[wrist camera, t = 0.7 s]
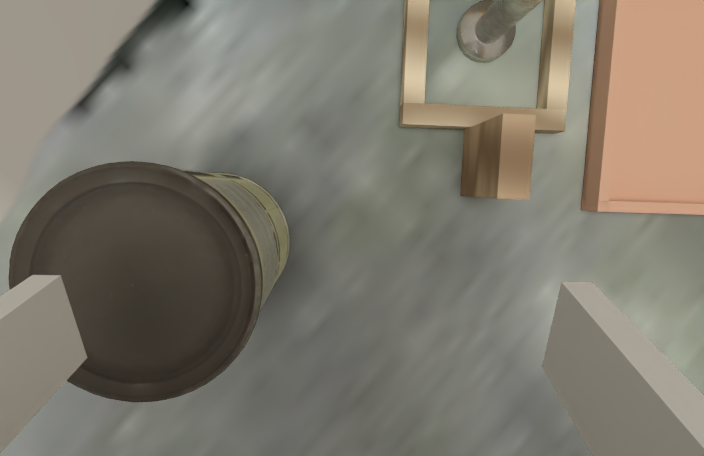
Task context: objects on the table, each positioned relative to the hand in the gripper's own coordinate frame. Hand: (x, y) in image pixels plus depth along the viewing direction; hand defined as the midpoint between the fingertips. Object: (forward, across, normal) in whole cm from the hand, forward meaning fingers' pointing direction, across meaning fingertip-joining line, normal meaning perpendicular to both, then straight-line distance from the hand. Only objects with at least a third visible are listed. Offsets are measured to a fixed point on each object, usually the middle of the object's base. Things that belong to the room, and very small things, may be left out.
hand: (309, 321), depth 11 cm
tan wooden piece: (+24, -10, -5) cm, 26 cm away
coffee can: (+19, +9, +6) cm, 22 cm away
